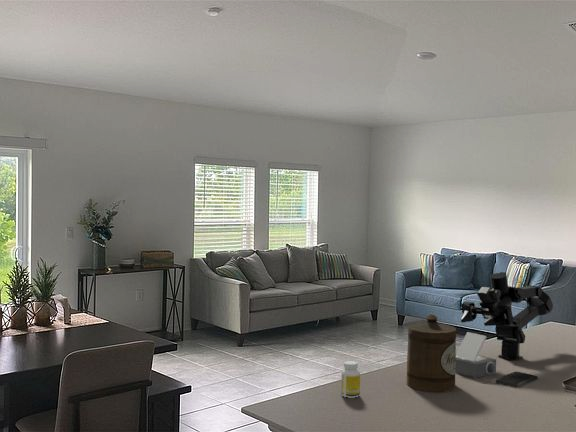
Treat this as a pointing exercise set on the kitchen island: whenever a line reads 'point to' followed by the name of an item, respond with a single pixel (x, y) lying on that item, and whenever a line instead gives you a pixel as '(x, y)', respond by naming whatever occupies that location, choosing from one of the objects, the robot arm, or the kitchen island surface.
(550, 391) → the kitchen island surface
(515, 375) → the phone
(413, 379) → the wooden container
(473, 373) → the camera case
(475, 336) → the side door
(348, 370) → the supplement bottle
